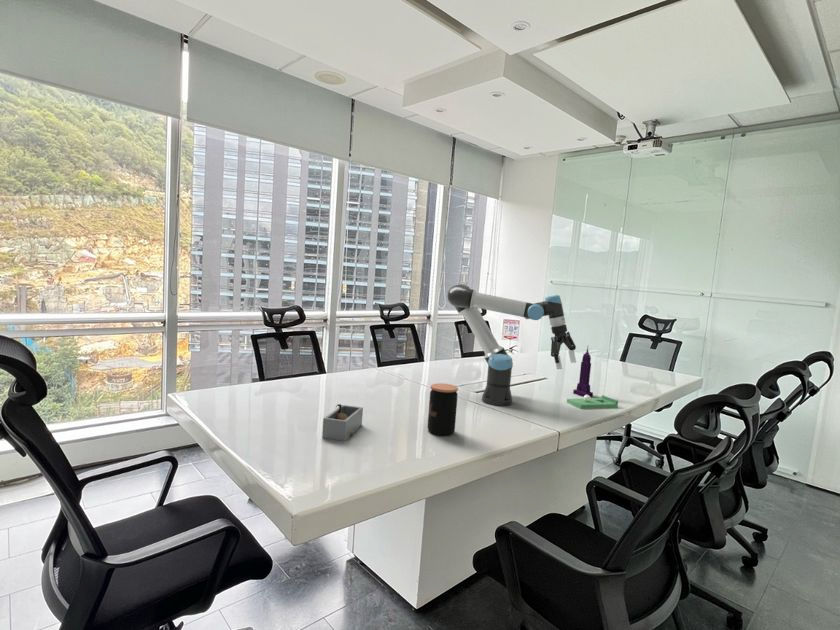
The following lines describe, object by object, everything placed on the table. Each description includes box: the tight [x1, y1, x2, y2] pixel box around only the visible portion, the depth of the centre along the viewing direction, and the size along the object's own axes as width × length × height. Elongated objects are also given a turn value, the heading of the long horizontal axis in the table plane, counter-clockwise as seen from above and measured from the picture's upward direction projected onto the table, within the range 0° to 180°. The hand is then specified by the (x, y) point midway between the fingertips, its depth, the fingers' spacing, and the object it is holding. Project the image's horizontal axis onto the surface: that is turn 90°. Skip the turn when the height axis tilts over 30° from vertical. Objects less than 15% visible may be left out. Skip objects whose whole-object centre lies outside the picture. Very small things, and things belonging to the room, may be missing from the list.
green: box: [566, 394, 619, 410], centre depth 233 cm, size 23×11×4 cm, turn 108°
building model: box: [572, 346, 594, 398], centre depth 253 cm, size 9×6×30 cm
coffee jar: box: [427, 382, 459, 437], centre depth 175 cm, size 11×11×18 cm
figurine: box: [335, 403, 354, 437], centre depth 168 cm, size 14×4×9 cm, turn 31°
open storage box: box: [321, 404, 364, 442], centre depth 168 cm, size 8×18×7 cm, turn 168°
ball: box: [582, 395, 592, 402], centre depth 232 cm, size 4×4×4 cm
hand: (566, 365), depth 231 cm, fingers open, 13 cm apart
